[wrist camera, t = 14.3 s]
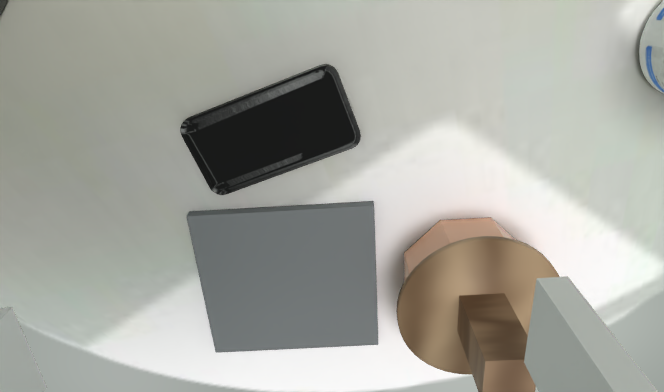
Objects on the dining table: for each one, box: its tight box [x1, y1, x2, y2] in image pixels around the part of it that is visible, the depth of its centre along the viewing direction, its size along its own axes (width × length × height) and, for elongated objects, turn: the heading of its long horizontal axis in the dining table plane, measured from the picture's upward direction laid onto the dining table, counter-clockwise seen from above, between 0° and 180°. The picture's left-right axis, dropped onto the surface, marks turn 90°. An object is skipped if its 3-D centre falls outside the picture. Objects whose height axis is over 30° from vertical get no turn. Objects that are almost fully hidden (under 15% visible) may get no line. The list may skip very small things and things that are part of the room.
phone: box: [180, 64, 361, 195], centre depth 43 cm, size 8×1×15 cm
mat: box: [187, 201, 378, 352], centre depth 50 cm, size 18×17×1 cm
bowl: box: [404, 217, 515, 282], centre depth 47 cm, size 12×12×6 cm
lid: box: [397, 236, 559, 392], centre depth 40 cm, size 15×15×9 cm
